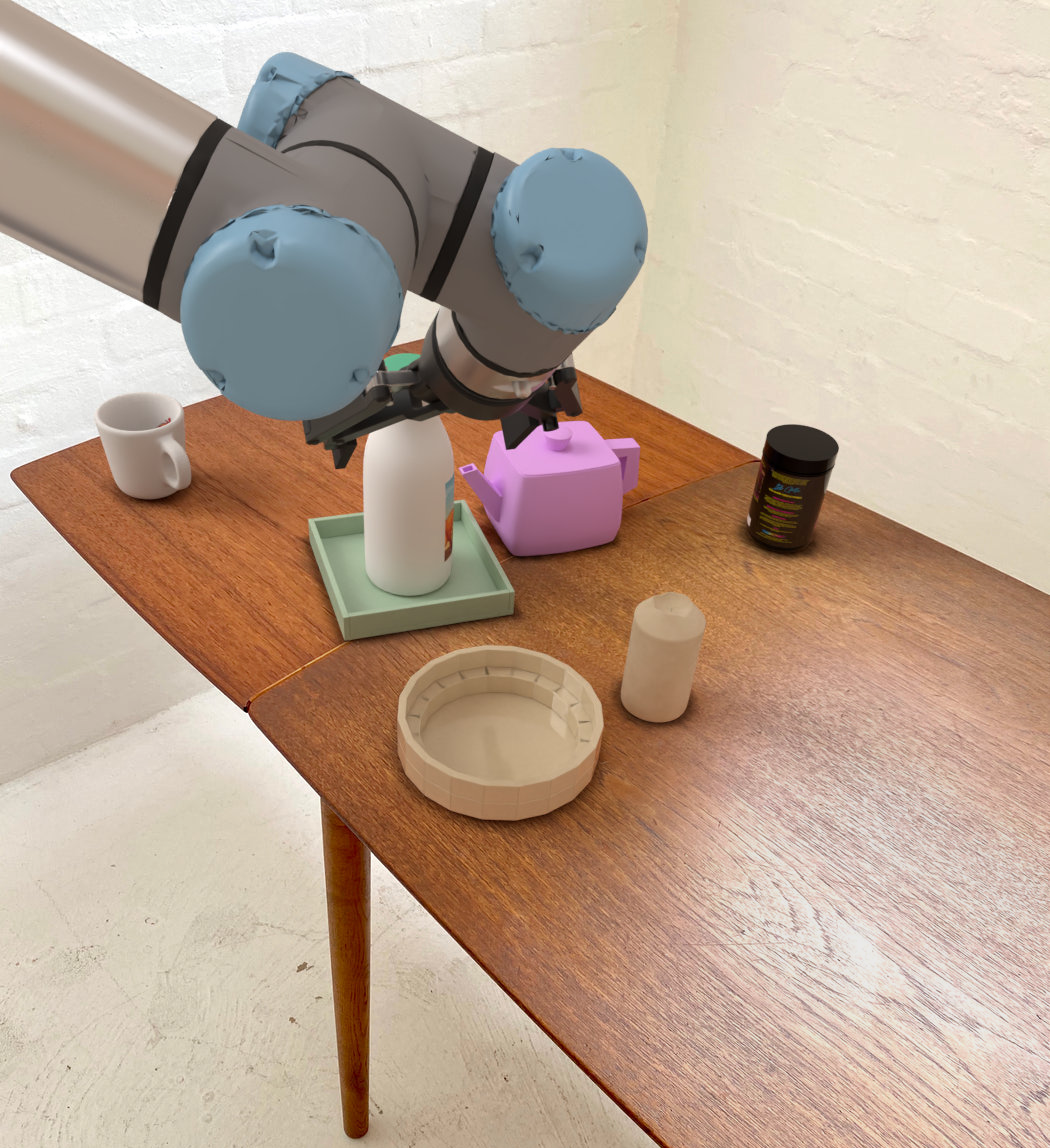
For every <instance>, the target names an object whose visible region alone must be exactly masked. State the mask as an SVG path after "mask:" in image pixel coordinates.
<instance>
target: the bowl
mask: <svg viewBox="0 0 1050 1148" xmlns="http://www.w3.org/2000/svg"><path fill="white" fill-rule="evenodd" d="M603 715H604V713H603V705H602V702H601V700H600V699H599V697H598V695H597V693H596V691H595V690H594V689H593V686H592V685H591V683H590V682H589V681H588V680H587V679H585V678H584V677H583V676H582V675H581V674H580V673H578V672H577V671H576V670H575V669H574V668H573V667H572V666H570V665H569V664H567V663H565V662H563V661H561V660H559V659H557V658H555V657H553V656H551V655H549V654H547V653H544V652H541V651H536V650H532V649H528V648H525V647H520V646H516V645H496V644H495V645H494V644H483V645H476V646H472V647H466V648H460V649H455V650H453V651H451V652H448V653H445V654H443V655H441V656H438V657H436V658H433V659H431V660H430V661H428V662H427V663H426V664H424V665H423V666H422V667H421V668H419V670H418V671H416V672H415V673H414V674H412V675H411V676H410V677H409V679H408V681H407V682H406V684H405V686H404V688H403V690H402V691H401V693H400V694H399V697H398V706H397V716H396V717H397V718H396V721H397V722H396V727H397V728H396V729H397V730H396V731H397V732H396V734H397V739H396V741H397V755H398V757H399V760H400V763H401V766H402V769H403V771H404V773H405V775H406V777H407V778H408V780H410V781H411V783H412V784H413V785H414V786H415V788H417V789H418V790H419V792H420V793H421V794H422V795H424V796H425V797H427V798H428V799H429V800H431V801H433V802H435V803H436V804H438V805H440V806H442V807H443V808H445V809H447V810H448V811H450V812H455V813H457V814H461V815H465V816H468V817H472V818H474V819H479V820H484V821H485V820H487V821H489V820H490V821H520V820H524V819H530V818H534V817H539V816H542V815H547V814H550V813H552V812H553V811H554V810H556V809H558V808H560V807H562V806H564V805H566V804H568V803H570V802H572V801H573V800H575V799H576V797H577V796H578V795H579V794H580V793H581V792H582V791H583V790H584V789H585V788H586V787H587V786H588V785H589V783H591V781H592V778H593V776H594V773H595V770H596V768H597V764H598V762H599V757H600V752H601V747H602V739H603V733H604V727H605V724H604V723H605V722H604V716H603Z"/></svg>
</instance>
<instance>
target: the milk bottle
mask: <svg viewBox="0 0 1050 1148" xmlns="http://www.w3.org/2000/svg"><path fill="white" fill-rule="evenodd" d="M420 356H421V354H419V353H410V352H408V353H407V352H403V353H396V354H391V355H389V356H387V357H386V358H383V360H384V361H385V366H387V367H388V371H399V369H401V368H403V367H405V366H408V365H409V364H410V363H411V362H413V361H414V360H416V359H418V358H419V357H420ZM422 404H423V406H426V405H428V403H426V402H424V401H422ZM362 462H363V463H362V464H363V465H362V467H363V468H362V484H363V485H362V493H363V494H362V497H363V500H362V501H363V512H364V539H365V565H366V572H367V575H368V576H369V578H370V580H371V581H372V582H373V583H374V584H375V585H376V586H377V587H378V588H380V589H382V590H384V591H386V592H389V593H392V594H397V595H405V596H416V595H422V594H426V593H430V592H432V591H434V590H437V589H438V588H440V587H441V586H443V584H444V583H445V582H446V581H447V579H448V578H449V576H450V574H451V567H452V547H453V517H454V501H455V458H454V451H453V446H452V442H451V439H450V437H449V434H448V432H447V430H446V427H445V426H444V424H443V421H442V419H441V416H440V415H438V416H435V417H432V418H430V419H427V420H424V421H414V420H409V419H406V420H403V421H401V422H398V423H396V424H393V425H390V426H388V427H385V428H382V429H380V430H377V431H375V432H372V433H369V434H368V436H367V440H366V443H365V446H364V453H363V461H362Z"/></svg>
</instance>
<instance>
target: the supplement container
mask: <svg viewBox="0 0 1050 1148" xmlns="http://www.w3.org/2000/svg"><path fill="white" fill-rule="evenodd" d="M839 450H840V446H839V444H838V442H837V440H836V439H835V438H834V437H833V436H832V435H830V434H828V433H827V432H825V431H823V430H821V429H819V428H816V427H813V426H809V425H804V424H794V423H789V424H781V425H776V426H774V427H772V428H771V429H769V430H768V431H767V433H766V436H765V441H764V445H763V448H762V455H761V459H760V463H759V467H758V471H757V475H756V479H755V484H754V487H753V491H752V495H751V500H750V504H749V508H748V512H747V516H746V521H745V532H746V534H747V535H748V537H749V538H750V540H751V541H752V542H753V544H756V545H757V546H759V547H760V548H763V549H765V550H767V551H770V552H773V553H781V554H789V553H795V552H796V553H797V552H799V551H801V550H803V549H805V548H806V547H808V546H809V545H810V544H811V542H812V541H813V537H814V535H815V531H816V528H817V524H818V521H819V517H820V514H821V511H822V507H823V504H824V500H825V497H826V494H827V491H828V487H829V483H830V481H831V476H832V473H833V470H834V468H835V465H836V461H837V457H838V453H839Z"/></svg>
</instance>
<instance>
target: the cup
mask: <svg viewBox="0 0 1050 1148" xmlns="http://www.w3.org/2000/svg"><path fill="white" fill-rule="evenodd" d="M185 417H186V416H185V410H184V408H183V406H182V404H181V403H180V402H179V401H178V400H177V399H175V398H173V397H171V396H169V395H166V394H162V393H157V392H152V391H151V392H150V391H137V392H129V393H124V394H119V395H116V396H114V397H111V398H109V399H107V400H105V401H104V402H103V403H101V404H100V405H98V407H97V408H96V410H95V411H94V422H95V426H96V429H97V432H98V435H99V438H100V441H101V445H102V447H103V450H104V453H105V456H106V459H107V463H108V465H109V469H110V471H111V472H110V473H111V474H112V478H113V479H114V481H115V484H116V485H117V488H119V490H120V491H121V492H122V493H124V494H126V495H127V496H128V497H132V498H135V499H139V500H156V499H162V498H165V497H169V496H171V495H173V494H174V493H176V492H178V491H180V490H184V489H187V488H188V487H189V486H190V484H191V483H192V466H191V463H190V459H189V456H188V454H187V451H186V424H185V423H186V420H185V419H186V418H185Z"/></svg>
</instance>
